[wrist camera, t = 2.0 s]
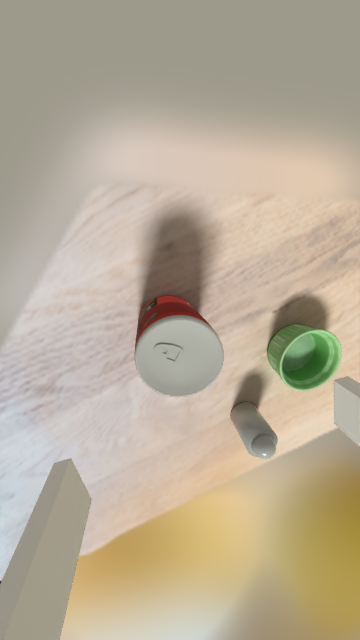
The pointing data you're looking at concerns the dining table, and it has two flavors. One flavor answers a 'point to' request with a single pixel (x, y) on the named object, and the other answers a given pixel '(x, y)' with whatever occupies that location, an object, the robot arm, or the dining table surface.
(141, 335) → the canned food
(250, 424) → the pepper pot
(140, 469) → the dining table surface
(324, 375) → the ramekin
